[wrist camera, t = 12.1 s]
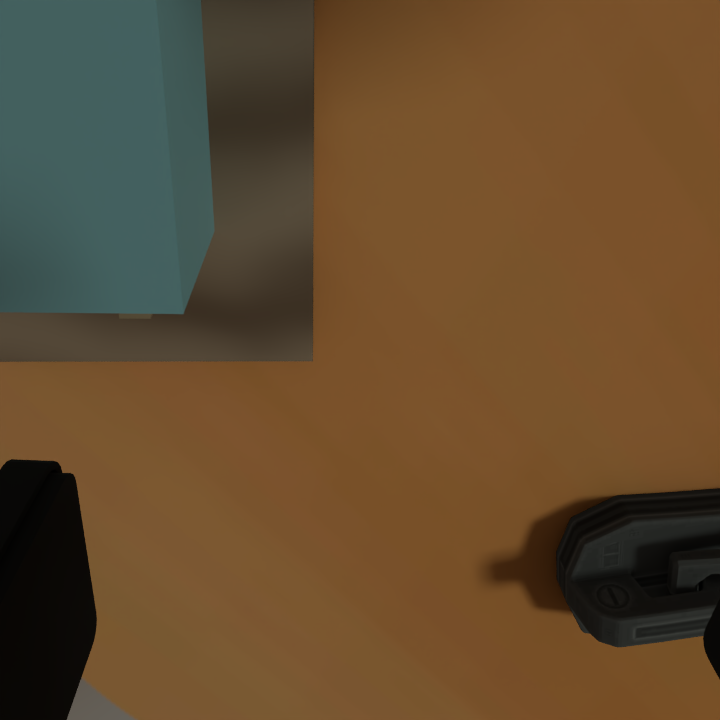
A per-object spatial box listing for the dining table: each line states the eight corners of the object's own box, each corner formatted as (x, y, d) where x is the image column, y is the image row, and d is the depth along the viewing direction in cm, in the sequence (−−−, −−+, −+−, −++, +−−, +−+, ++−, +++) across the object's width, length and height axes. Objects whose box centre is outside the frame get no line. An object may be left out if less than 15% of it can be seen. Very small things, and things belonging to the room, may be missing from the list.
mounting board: (-160, -312, 20) (-235, -360, 18) (314, -279, 21) (316, -319, 19) (-2, 348, 31) (-33, 385, 28) (312, 348, 32) (313, 383, 29)
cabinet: (5, -99, 22) (-135, -139, 15) (195, -88, 23) (145, -122, 16) (60, 228, 27) (-25, 312, 20) (214, 231, 28) (183, 314, 21)
